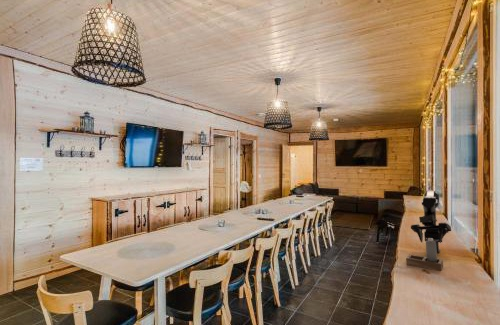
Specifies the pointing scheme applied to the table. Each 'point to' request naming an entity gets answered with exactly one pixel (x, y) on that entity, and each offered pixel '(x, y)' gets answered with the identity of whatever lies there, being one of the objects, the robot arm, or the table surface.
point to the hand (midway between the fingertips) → (430, 241)
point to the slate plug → (431, 250)
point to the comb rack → (424, 262)
